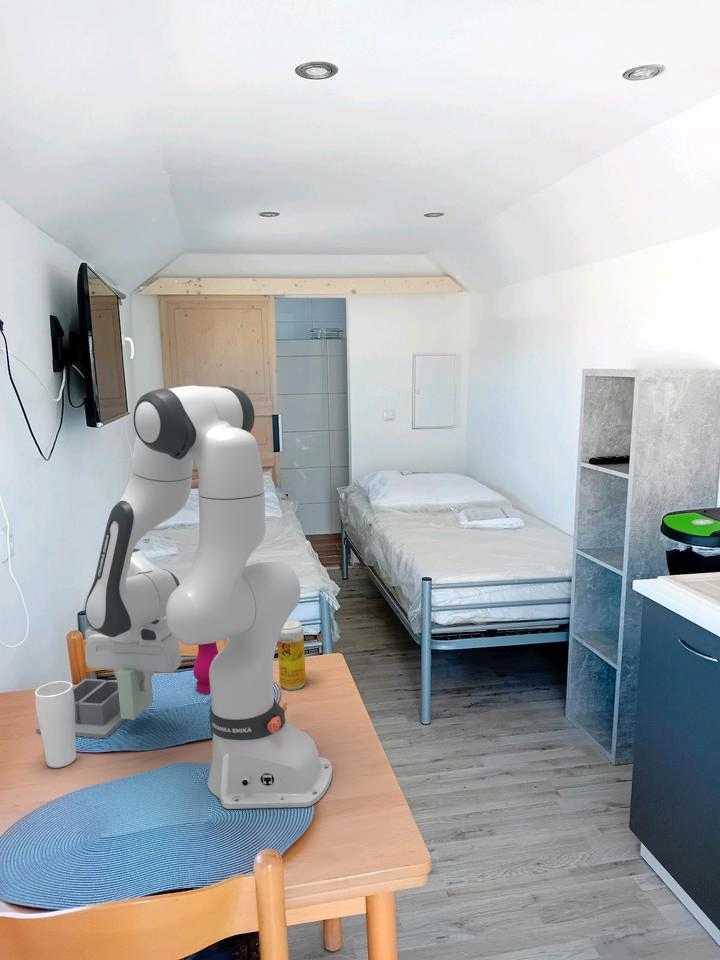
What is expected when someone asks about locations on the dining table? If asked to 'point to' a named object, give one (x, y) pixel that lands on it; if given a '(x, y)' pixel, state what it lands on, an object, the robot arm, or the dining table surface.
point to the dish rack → (96, 708)
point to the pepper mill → (204, 666)
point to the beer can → (291, 656)
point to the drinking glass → (57, 722)
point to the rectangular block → (132, 693)
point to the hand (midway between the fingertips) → (135, 689)
